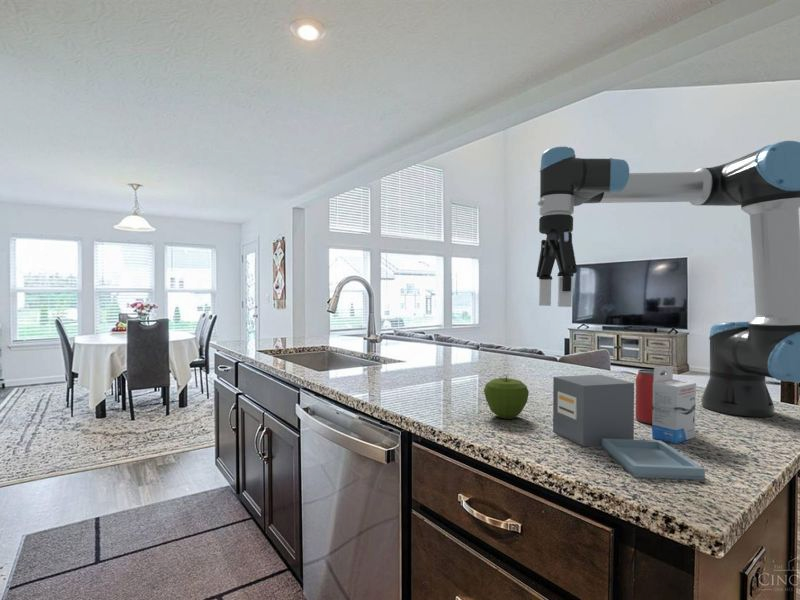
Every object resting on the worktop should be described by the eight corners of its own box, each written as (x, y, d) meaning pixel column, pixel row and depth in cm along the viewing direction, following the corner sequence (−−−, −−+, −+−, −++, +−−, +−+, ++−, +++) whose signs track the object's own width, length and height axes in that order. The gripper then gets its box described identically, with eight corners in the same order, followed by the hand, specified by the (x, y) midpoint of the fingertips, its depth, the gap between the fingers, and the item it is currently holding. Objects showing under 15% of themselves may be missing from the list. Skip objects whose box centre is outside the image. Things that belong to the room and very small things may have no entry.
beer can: (663, 419, 105) (663, 369, 105) (670, 426, 99) (671, 374, 99) (633, 416, 107) (633, 368, 107) (638, 423, 101) (638, 372, 101)
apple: (480, 411, 112) (481, 372, 112) (521, 411, 111) (522, 373, 111) (488, 423, 101) (488, 380, 101) (533, 423, 101) (533, 381, 100)
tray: (660, 449, 84) (660, 440, 84) (704, 480, 70) (704, 468, 70) (601, 447, 85) (601, 438, 85) (633, 477, 71) (633, 466, 71)
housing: (600, 427, 98) (600, 374, 98) (634, 441, 88) (635, 383, 88) (551, 431, 95) (552, 376, 95) (581, 446, 85) (582, 385, 85)
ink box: (677, 444, 87) (677, 371, 87) (651, 438, 91) (651, 368, 91) (696, 437, 91) (697, 368, 91) (671, 431, 96) (671, 364, 95)
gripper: (525, 224, 114) (523, 304, 114) (558, 204, 89) (556, 306, 89) (554, 225, 114) (552, 305, 114) (595, 204, 89) (592, 307, 89)
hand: (554, 306), depth 102 cm, fingers open, 13 cm apart
